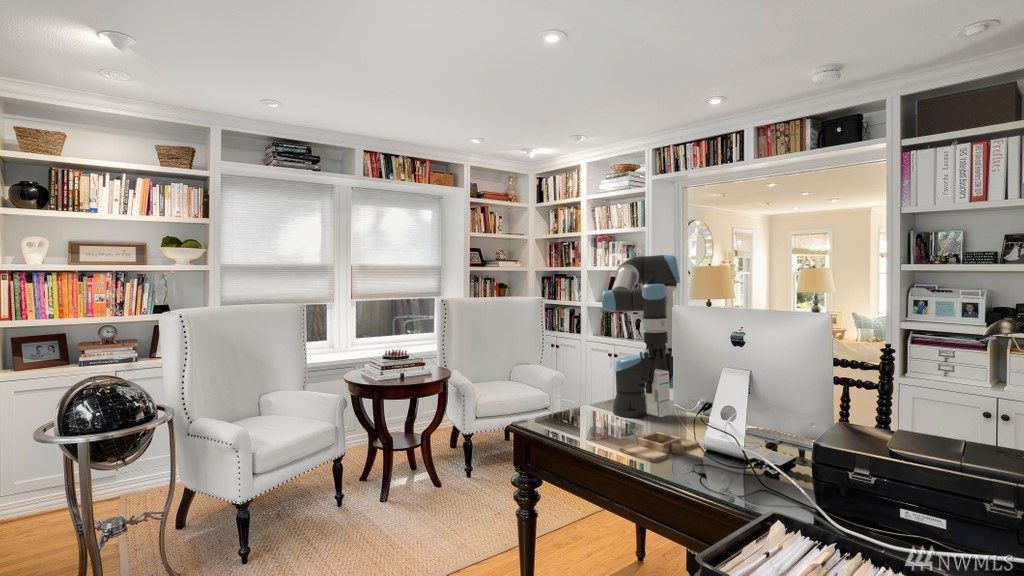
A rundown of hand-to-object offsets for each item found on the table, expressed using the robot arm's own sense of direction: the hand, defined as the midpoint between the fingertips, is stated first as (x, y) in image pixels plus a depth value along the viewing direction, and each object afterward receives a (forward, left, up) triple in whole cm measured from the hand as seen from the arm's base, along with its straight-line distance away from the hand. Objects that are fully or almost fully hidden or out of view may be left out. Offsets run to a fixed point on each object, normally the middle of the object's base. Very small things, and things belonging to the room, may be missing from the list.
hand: (657, 401), depth 176 cm
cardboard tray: (0, 0, -16) cm, 16 cm away
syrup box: (0, 0, -5) cm, 5 cm away
